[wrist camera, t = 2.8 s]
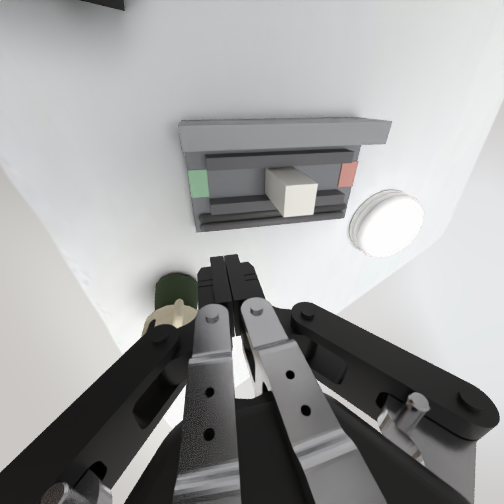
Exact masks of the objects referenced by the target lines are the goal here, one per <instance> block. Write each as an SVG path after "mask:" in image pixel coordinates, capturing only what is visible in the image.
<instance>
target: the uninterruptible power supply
mask: <svg viewBox="0 0 504 504" xmlns="http://www.w3.org/2000/svg"><path fill="white" fill-rule="evenodd" d="M81 1H86V2H90V3H94V4H98V5H102V6H107V7H111V8H115V9H119V10H123V11H125V10H124V0H81Z"/></svg>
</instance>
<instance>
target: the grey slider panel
mask: <svg viewBox="0 0 504 504" xmlns="http://www.w3.org/2000/svg"><path fill="white" fill-rule="evenodd" d="M391 123H392V121H384V120H376V119H367V118H359V117H343V118H288V119H232V120H181V122H180V124H179V126H178V127H179V134H180V140H181V147H182V152H185V157H186V164H187V171H188V178H189V185H190V192H191V198H192V205H193V212H194V218H195V225H196V232H209V231H219V230H229V229H239V228H249V227H260V226H270V225H280V224H290V223H300V222H310V221H321V220H331V219H341V218H344V216H345V212H346V208H347V203H348V199H349V195H350V190H351V186H353V182H354V177H355V173H356V169H357V164H358V161H357V160H358V155H359V151H360V147H361V145H371V144H386V141H387V137H388V134H389V130H390V127H391ZM290 166H293V167H294V168H296V169H297V170H299V171H300V172H302V173H303V174H305V175H306V176H308V177H309V178H311V179H312V180H313V181H315V182H316V183H318V187H317V193H316V200H315V207H314V213H313V215H304V216H293V217H283V216H282V215H281V213H280V212H279V211H278V209H277V208H276V207H275V206H274V204H273V203H272V202H271V200H270V199H269V198H268V196H267V195H266V194H265V171H266V168H271V167H290Z"/></svg>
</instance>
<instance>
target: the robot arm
mask: <svg viewBox="0 0 504 504" xmlns="http://www.w3.org/2000/svg"><path fill="white" fill-rule="evenodd" d="M210 261H211V267H203V268H201V269H200V271H199V272H198V274H197V277H198V312H197V314H196V317H195V318H194V319H193V320H192V321H191V322H189V323H188V324H186V325H184V326H181V327H179V328H176V327H175V326H173V325H170V324H161V325H157V326H155V327H153V328H151V329H150V330H149V331H147V332H146V333H145V334H144V335H143V336H142V337H141V338H140V339H139V340H138V341H137V342H136V343H135V344H134V345H133V346H132V347H131V348H130V349H129V350H128V351H127V352H125V353H124V354H123V355H122V356H121V357H120V358H119V360H117V361H116V362H115V363H114V364H113V365H112V366H111V367H110V368H109V369H108V370H107V371H106V372H105V373H104V374H103V375H101V376H100V377H99V378H98V379H97V380H96V381H95V382H94V383H93V384H92V385H91V386H90V387H89V388H88V389H87V390H86V391H85V392H84V393H83V394H82V395H81V396H80V397H79V398H78V399H76V400H75V401H74V402H73V403H72V404H71V405H70V406H69V407H68V408H67V409H66V410H65V411H64V412H63V413H62V414H61V415H60V416H59V417H58V418H57V419H56V420H55V421H54V422H52V423H51V424H50V425H49V426H48V427H47V428H46V429H45V430H44V431H43V432H42V433H41V434H40V435H39V436H38V437H37V438H36V439H35V440H34V441H33V442H32V443H31V444H30V445H29V446H27V447H26V449H24V450H23V451H22V452H21V453H20V454H19V455H18V456H17V457H16V458H15V459H14V460H13V461H12V462H11V463H10V464H9V465H8V466H7V467H6V468H5V469H3V470H2V471H1V472H0V504H112V494H111V489H112V487H113V486H114V484H115V483H116V482H117V480H118V479H119V478H120V476H121V475H122V473H123V472H124V471H125V469H126V468H127V466H128V465H129V464H130V462H131V460H132V459H133V458H134V456H135V455H136V454H137V452H138V451H139V450H140V448H141V447H142V445H143V444H144V442H145V441H146V440H147V438H148V437H149V436H150V434H151V433H152V431H153V429H155V427H156V426H157V424H158V423H159V421H160V420H161V419H162V417H163V416H164V415H165V413H166V412H167V410H168V409H169V408H170V406H171V405H172V403H173V402H174V400H175V399H176V398H177V396H178V395H179V393H180V392H181V391H182V389H183V388H184V386H185V385H186V394H185V405H184V415H183V420H182V421H181V422H180V423H179V424H178V425H177V426H175V427H174V429H173V430H172V431H171V432H170V433H169V434H168V435H167V437H166V438H165V439H164V441H163V442H162V444H161V445H160V447H159V448H158V450H157V451H156V453H155V455H154V456H153V458H152V460H151V461H150V463H149V464H148V466H147V468H146V469H145V471H144V472H143V474H142V475H141V477H140V479H139V480H138V482H137V484H136V485H135V487H134V488H133V490H132V492H131V493H130V495H129V496H128V498H127V499H126V501H125V503H124V504H474V488H475V458H476V442H477V441H478V440H479V439H480V438H481V437H483V436H484V435H485V434H486V433H488V432H489V431H490V430H491V429H493V428H494V427H495V426H496V425H497V424H498V423H499V420H500V419H499V418H500V416H499V412H498V410H497V408H496V406H495V404H494V403H493V402H492V401H491V399H490V398H489V397H488V396H487V395H486V394H485V393H484V392H482V391H481V390H480V389H478V388H477V387H475V386H474V385H472V384H470V383H468V382H466V381H464V380H462V379H460V378H458V377H456V376H454V375H452V374H451V373H449V372H447V371H444V370H443V369H441V368H439V367H437V366H434V365H433V364H431V363H429V362H427V361H425V360H423V359H421V358H419V357H417V356H415V355H413V354H411V353H409V352H407V351H405V350H403V349H401V348H399V347H398V346H396V345H394V344H392V343H390V342H388V341H386V340H384V339H382V338H380V337H378V336H376V335H374V334H372V333H370V332H368V331H366V330H364V329H362V328H360V327H358V326H356V325H354V324H352V323H350V322H349V321H347V320H345V319H343V318H341V317H339V316H337V315H335V314H333V313H331V312H329V311H327V310H325V309H323V308H321V307H319V306H317V305H315V304H313V303H309V302H300V303H297V304H296V305H294V306H293V308H292V310H289V309H280V308H276V307H274V306H272V305H271V304H270V302H269V301H267V300H266V299H265V296H264V294H263V291H262V288H261V286H260V283H259V280H258V277H257V275H256V272H255V269H254V267H253V266H252V265H251V264H250V263H249V262H243V263H240V261H239V258H238V255H237V254H234V255H226V256H224V257H223V256H218V257H210ZM224 261H225V262H224ZM234 328H235V333H236V336H240V335H241V338H242V346H243V353H244V356H245V360H246V363H247V366H248V370H249V373H250V377H251V380H252V383H253V387H254V391H255V398H253V399H236V398H235V391H234V377H233V363H232V348H233V345H232V337H235V333H234ZM316 379H317V380H318V381H320V382H321V383H323V384H324V385H325V386H327V387H328V388H330V389H331V390H333V391H334V392H336V393H337V394H338V395H340V396H341V397H343V398H344V399H346V400H347V401H348V402H350V403H351V404H353V405H354V406H356V407H357V408H359V409H360V410H362V411H363V412H364V413H366V414H368V415H369V416H370V417H371V418H373V419H374V420H376V421H377V422H378V426H379V428H380V431H381V432H382V434H383V435H382V434H381V433H380V432H378V431H377V430H376V429H374V428H373V427H372V426H370V425H369V424H368V423H366V422H365V421H364V420H362V419H361V418H360V417H358V416H357V415H356V414H355V413H353V412H352V411H350V410H349V409H348V408H346V407H345V406H344V405H343V404H341V403H340V402H338V401H337V400H336V399H334V398H332V397H331V396H329V395H327V394H325V393H323V392H322V390H321V388H320V386H319V384H318V383H317V380H316ZM186 383H187V384H186Z"/></svg>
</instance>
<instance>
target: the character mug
mask: <svg viewBox="0 0 504 504" xmlns="http://www.w3.org/2000/svg"><path fill="white" fill-rule="evenodd" d="M197 304H198V284H197V282H196V281H195V280H193V279H192V278H191V277H188V276H184V275H180V274H170V275H167V276H165V277H163V278H161V279H160V280H159V282H158V283H157V284H156V293H155V311H154V312H153V313H152V314H150V315H149V316H148V318H147V319H146V321H145V324H144V329H143V332H142V336H143V335H144V334H145V333H146V332H147V331H149V330H150V329H151V328H153V327H155V326H157V325H161V324H170V325H173V326H175V327H176V328H179V327H181V326H184V325H186V324H188V323H189V322H191V321H192V320H193V319H194V318H195V317H196V314H197V312H198V310H197Z"/></svg>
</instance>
